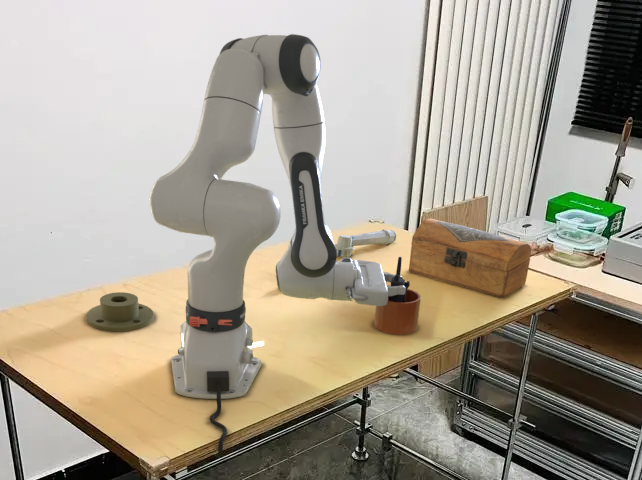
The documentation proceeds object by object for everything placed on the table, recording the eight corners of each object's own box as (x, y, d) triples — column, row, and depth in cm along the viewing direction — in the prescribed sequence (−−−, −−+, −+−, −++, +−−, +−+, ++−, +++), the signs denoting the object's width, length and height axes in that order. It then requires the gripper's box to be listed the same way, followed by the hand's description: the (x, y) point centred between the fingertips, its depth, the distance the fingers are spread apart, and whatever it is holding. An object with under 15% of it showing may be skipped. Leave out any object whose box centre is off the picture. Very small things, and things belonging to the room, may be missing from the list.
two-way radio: (388, 312, 196) (395, 253, 189) (406, 315, 196) (413, 256, 189) (385, 321, 192) (391, 261, 184) (403, 324, 191) (411, 264, 184)
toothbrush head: (399, 231, 249) (345, 235, 230) (395, 252, 251) (341, 258, 233) (386, 227, 252) (332, 230, 233) (382, 248, 254) (328, 253, 236)
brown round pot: (419, 335, 191) (423, 304, 187) (376, 333, 190) (379, 302, 186) (414, 318, 200) (417, 287, 196) (372, 316, 199) (375, 285, 195)
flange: (113, 317, 176) (166, 299, 187) (71, 298, 184) (124, 282, 194) (115, 337, 178) (166, 318, 189) (73, 317, 186) (125, 300, 197)
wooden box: (405, 272, 229) (410, 224, 222) (434, 258, 241) (439, 213, 234) (500, 301, 214) (509, 251, 208) (526, 285, 227) (535, 237, 220)
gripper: (348, 285, 178) (410, 288, 179) (343, 254, 196) (400, 257, 197) (346, 311, 181) (407, 314, 182) (342, 279, 199) (397, 282, 200)
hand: (403, 284), depth 190 cm, fingers closed on two-way radio, 5 cm apart
